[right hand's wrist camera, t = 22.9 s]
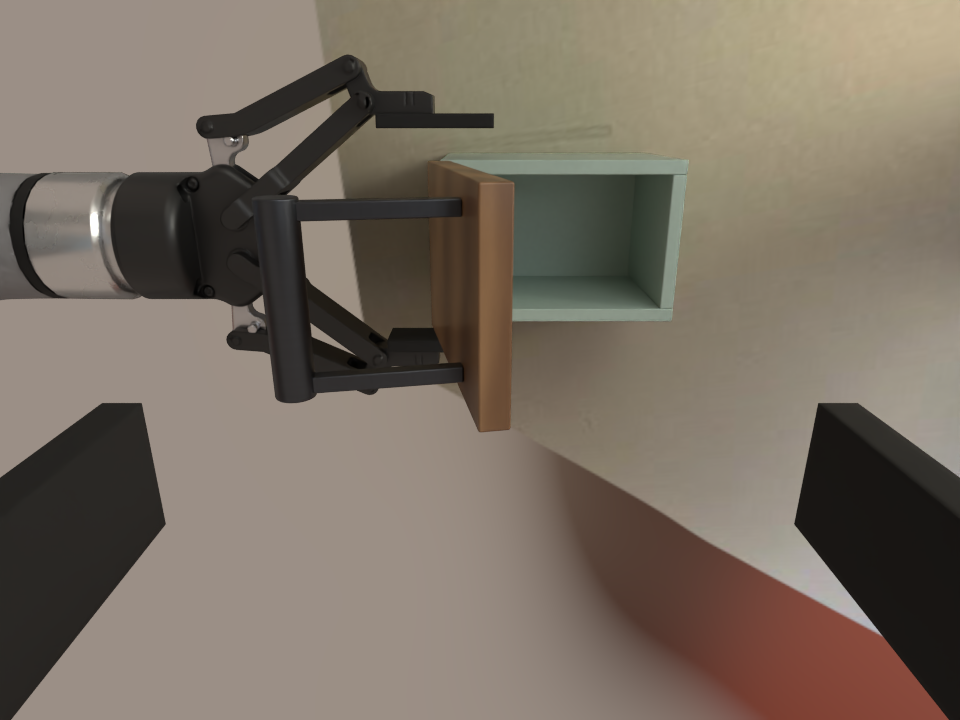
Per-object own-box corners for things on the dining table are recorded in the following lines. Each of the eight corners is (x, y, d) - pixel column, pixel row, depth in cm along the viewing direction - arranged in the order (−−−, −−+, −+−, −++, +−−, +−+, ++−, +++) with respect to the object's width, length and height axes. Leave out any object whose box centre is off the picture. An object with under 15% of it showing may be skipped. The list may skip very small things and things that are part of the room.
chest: (645, 152, 44) (689, 159, 35) (634, 283, 47) (671, 321, 38) (448, 153, 44) (439, 160, 35) (450, 283, 47) (443, 321, 38)
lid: (515, 181, 21) (233, 186, 20) (510, 430, 24) (267, 452, 23) (450, 160, 34) (278, 162, 33) (453, 324, 37) (296, 333, 36)
